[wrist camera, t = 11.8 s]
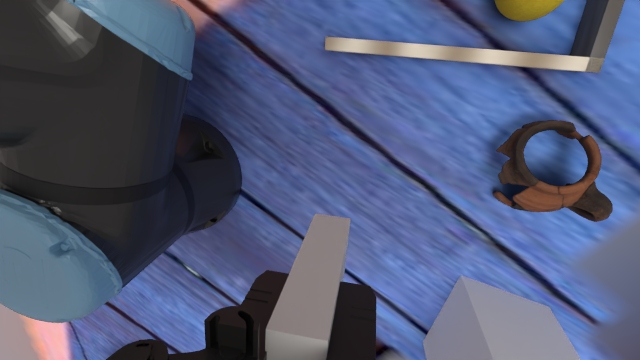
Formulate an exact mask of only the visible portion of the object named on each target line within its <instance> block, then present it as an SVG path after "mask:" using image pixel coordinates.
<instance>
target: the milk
mask: <svg viewBox="0 0 640 360" xmlns="http://www.w3.org/2000/svg"><path fill="white" fill-rule="evenodd" d="M423 346H424V351H425V355H426V359H427V360H581V359H580V357H579V355H578V354H577V352H576V350H575V349H574V347H573V345H572V344H571V342H570V341H569V339H568V337H567V336H566V334H565V332H564V331H563V329H562V327H561V326H560V324H559V322H558V321H557V319H556V317H555V316H554V314H553V312H552V311H551V309H550V307H548V306H545V305H542V304H540V303H537V302H534V301H531V300H529V299H526V298H523V297H520V296H517V295H515V294H512V293H509V292H506V291H504V290H501V289H498V288H495V287H493V286H490V285H487V284H484V283H482V282H479V281H476V280H473V279H470V278H468V277H465V276H462V275H461V276H460V277H459V279H458V281H457V283H456V284H455V286H454V288H453V290H452V291H451V293H450V295H449V297H448V298H447V300H446V302H445V304H444V305H443V307H442V309H441V311H440V313H439V314H438V316H437V318H436V320H435V321H434V323H433V325H432V327H431V328H430V330H429V332H428V334H427V335H426V337H425V339H424V341H423Z"/></svg>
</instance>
